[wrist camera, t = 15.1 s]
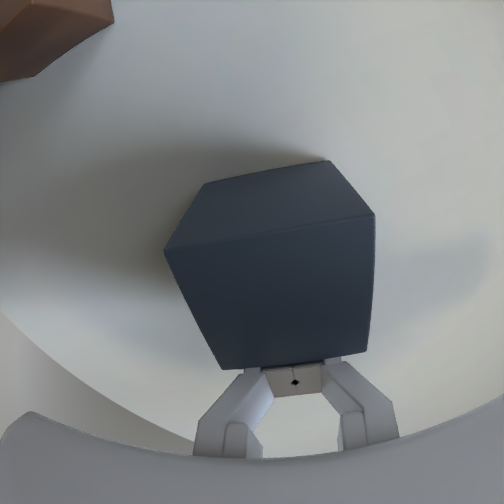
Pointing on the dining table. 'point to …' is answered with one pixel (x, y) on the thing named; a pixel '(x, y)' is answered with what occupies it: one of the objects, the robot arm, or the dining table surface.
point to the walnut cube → (45, 31)
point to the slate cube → (278, 266)
